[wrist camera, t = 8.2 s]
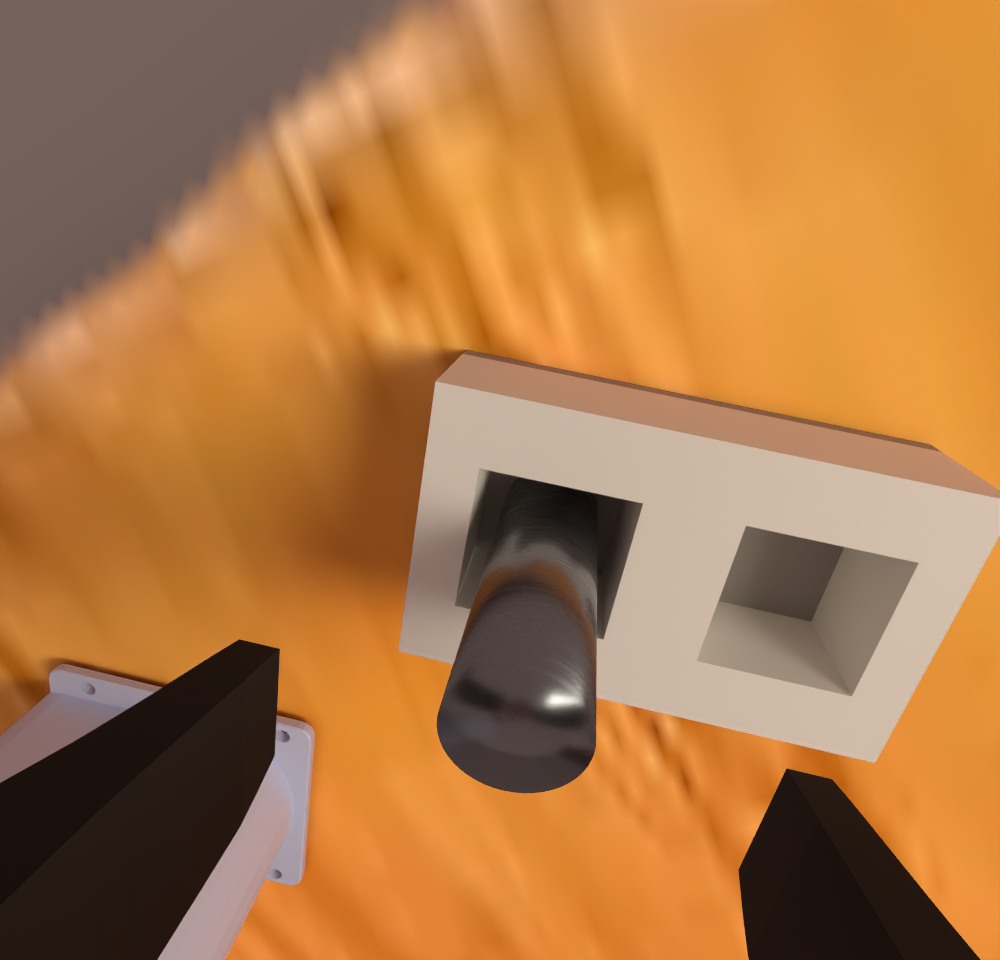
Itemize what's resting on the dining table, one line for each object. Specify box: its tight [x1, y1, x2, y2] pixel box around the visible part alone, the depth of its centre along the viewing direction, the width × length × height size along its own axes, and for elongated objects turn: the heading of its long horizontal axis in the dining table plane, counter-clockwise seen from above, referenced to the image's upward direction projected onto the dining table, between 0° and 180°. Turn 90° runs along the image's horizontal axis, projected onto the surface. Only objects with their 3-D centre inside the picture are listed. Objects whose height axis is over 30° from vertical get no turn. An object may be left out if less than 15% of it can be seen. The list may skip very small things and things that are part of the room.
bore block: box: [398, 350, 1000, 763], centre depth 16 cm, size 7×12×4 cm, turn 80°
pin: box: [437, 477, 598, 793], centre depth 14 cm, size 2×2×8 cm
